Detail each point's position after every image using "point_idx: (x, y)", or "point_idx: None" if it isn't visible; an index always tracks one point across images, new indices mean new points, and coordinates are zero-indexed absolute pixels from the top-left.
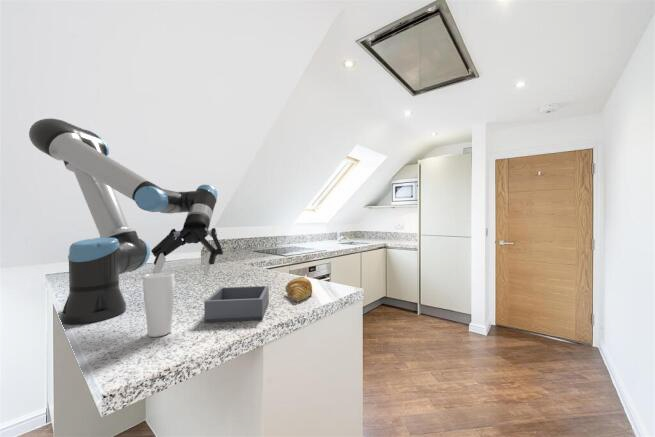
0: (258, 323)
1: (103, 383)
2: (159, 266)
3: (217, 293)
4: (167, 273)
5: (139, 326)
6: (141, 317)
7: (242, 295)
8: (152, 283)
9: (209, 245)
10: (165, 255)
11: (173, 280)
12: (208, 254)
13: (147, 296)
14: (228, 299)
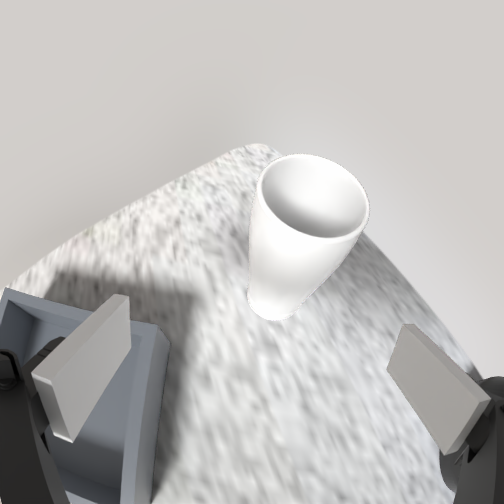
0: (46, 292)
1: (274, 152)
2: (420, 366)
3: (126, 439)
4: (304, 235)
5: (351, 358)
6: (381, 429)
7: (61, 476)
8: (307, 169)
9: (6, 447)
10: (464, 460)
11: (252, 204)
12: (56, 359)
13: (314, 205)
14: (114, 492)
